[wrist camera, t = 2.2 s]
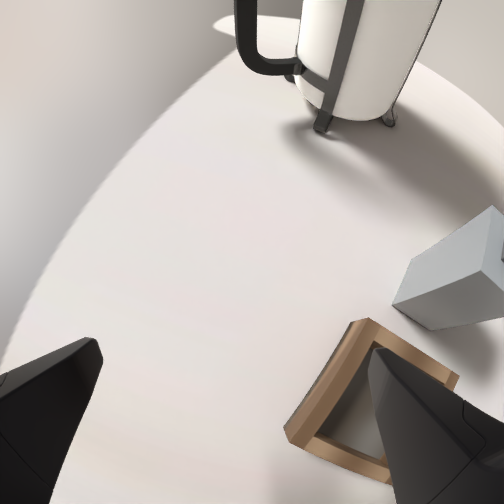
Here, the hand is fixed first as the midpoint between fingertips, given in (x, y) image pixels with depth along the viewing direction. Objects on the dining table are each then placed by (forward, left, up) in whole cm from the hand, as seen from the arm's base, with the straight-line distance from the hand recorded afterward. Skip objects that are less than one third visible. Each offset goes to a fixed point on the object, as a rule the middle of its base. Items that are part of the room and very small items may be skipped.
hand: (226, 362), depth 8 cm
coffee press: (+6, -29, -15) cm, 33 cm away
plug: (-12, -13, -15) cm, 23 cm away
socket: (-12, -2, -15) cm, 19 cm away
